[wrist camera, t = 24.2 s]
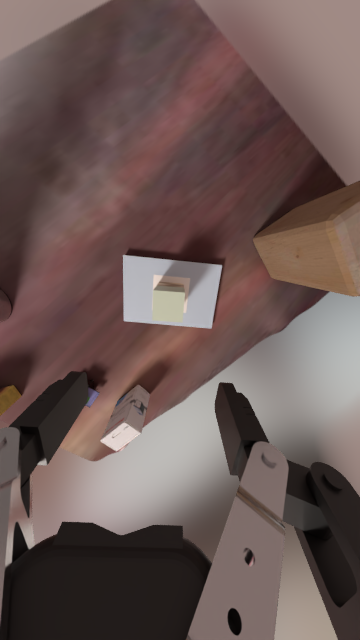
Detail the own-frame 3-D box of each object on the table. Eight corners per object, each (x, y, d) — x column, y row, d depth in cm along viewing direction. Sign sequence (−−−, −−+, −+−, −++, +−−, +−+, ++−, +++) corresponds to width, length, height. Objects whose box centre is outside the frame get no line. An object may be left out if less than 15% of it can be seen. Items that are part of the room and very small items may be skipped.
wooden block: (249, 238, 35) (330, 218, 17) (295, 206, 34) (445, 141, 15) (270, 279, 38) (359, 302, 20) (314, 252, 36) (459, 246, 18)
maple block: (158, 304, 38) (155, 311, 34) (159, 281, 37) (156, 285, 32) (181, 306, 38) (181, 313, 34) (183, 283, 37) (184, 287, 32)
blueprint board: (125, 318, 41) (123, 321, 39) (125, 255, 36) (123, 255, 35) (210, 326, 42) (211, 328, 40) (220, 264, 37) (222, 265, 36)
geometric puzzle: (81, 370, 43) (56, 403, 38) (106, 384, 44) (85, 417, 40) (80, 374, 49) (58, 403, 44) (102, 386, 50) (83, 416, 45)
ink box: (129, 410, 50) (116, 453, 39) (116, 400, 49) (98, 441, 38) (150, 393, 48) (142, 434, 37) (137, 382, 47) (125, 421, 36)
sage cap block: (155, 311, 34) (152, 320, 29) (156, 285, 32) (153, 290, 27) (181, 313, 34) (182, 322, 29) (183, 287, 32) (185, 292, 27)
